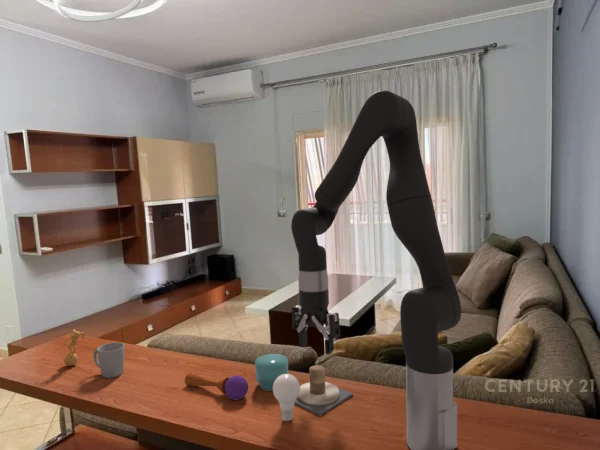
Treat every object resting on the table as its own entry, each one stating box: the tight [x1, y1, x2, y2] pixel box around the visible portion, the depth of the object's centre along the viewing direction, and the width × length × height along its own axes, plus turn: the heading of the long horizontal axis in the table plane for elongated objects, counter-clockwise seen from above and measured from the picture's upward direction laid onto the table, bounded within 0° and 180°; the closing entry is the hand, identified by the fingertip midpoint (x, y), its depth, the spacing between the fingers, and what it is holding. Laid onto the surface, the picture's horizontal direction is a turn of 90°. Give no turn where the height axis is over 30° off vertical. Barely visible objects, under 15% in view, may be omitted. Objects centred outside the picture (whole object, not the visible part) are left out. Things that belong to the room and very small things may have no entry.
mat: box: [294, 386, 354, 417], centre depth 109 cm, size 13×13×1 cm
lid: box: [297, 364, 339, 406], centre depth 109 cm, size 11×11×7 cm
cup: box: [93, 341, 125, 379], centre depth 127 cm, size 8×10×8 cm
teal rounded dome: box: [254, 353, 289, 392], centre depth 117 cm, size 9×9×7 cm
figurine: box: [61, 328, 85, 367], centre depth 133 cm, size 8×6×12 cm
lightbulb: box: [272, 373, 301, 422], centre depth 98 cm, size 6×6×11 cm
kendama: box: [184, 372, 249, 401], centre depth 114 cm, size 6×6×20 cm
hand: (315, 349), depth 108 cm, fingers open, 8 cm apart
